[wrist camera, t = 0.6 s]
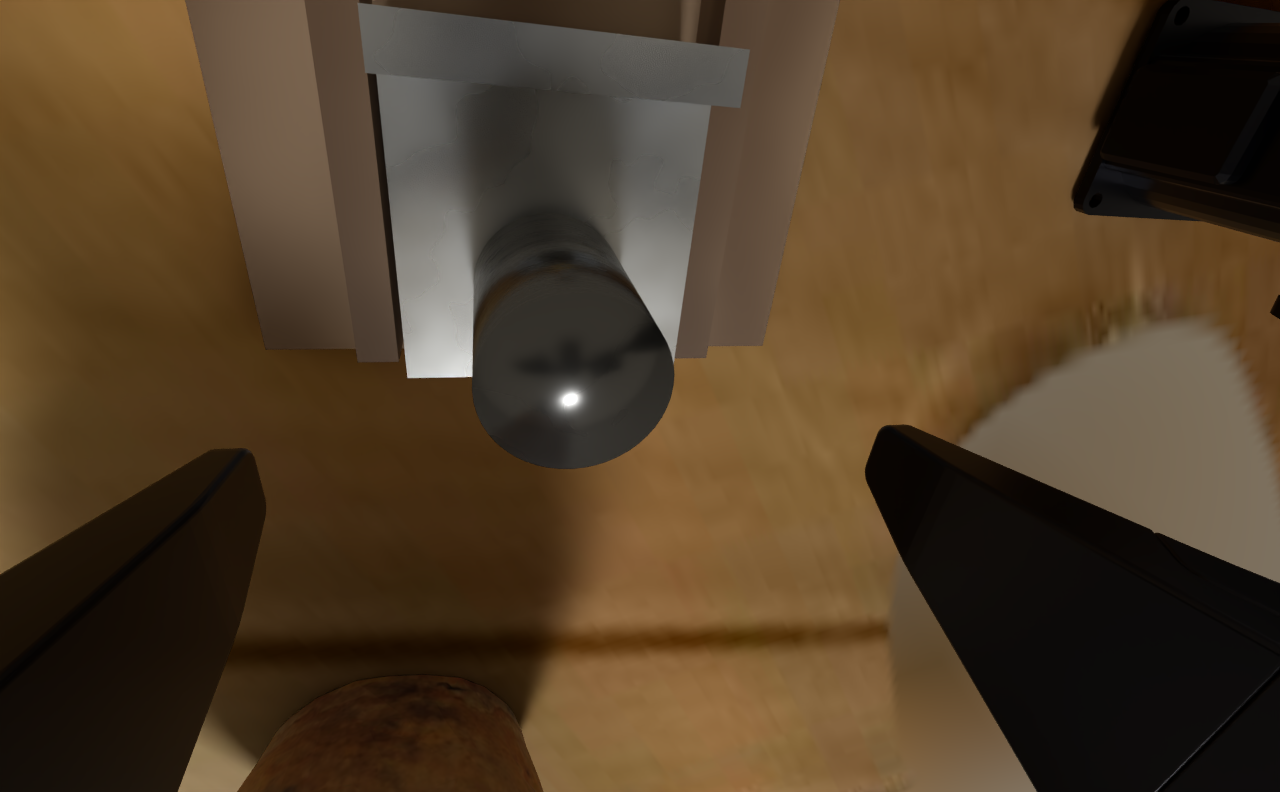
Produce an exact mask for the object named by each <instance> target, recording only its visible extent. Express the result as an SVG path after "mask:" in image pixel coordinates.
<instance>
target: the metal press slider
mask: <svg viewBox="0 0 1280 792" xmlns="http://www.w3.org/2000/svg"><path fill="white" fill-rule="evenodd" d="M358 12H359V21H360V30H361V39H362V48H363V57H364V66H365V73H372V74H376V76H377V86H378V96H379V106H380V115H381V125H382V135H383V144H384V154H385V164H386V174H387V183H388V193H389V203H390V212H391V222H392V232H393V242H394V251H395V261H396V271H397V280H398V290H399V300H400V310H401V319H402V329H403V339H404V349H405V358H406V368H407V378H442V377H472V393H473V402H474V406H475V409H476V413H477V415H478V417H479V419H480V422H481V424H482V425H483V427H484V428H485V430H486V431H487V433H488V434H489V435H490V436H491V438H492V439H493V440H494V441H495V442H496V443H497V444H498V445H500V446H501V447H502V448H503V449H504V450H506V451H507V452H509V453H510V454H512V455H513V456H515V457H517V458H519V459H521V460H524V461H526V462H529V463H532V464H535V465H539V466H543V467H548V468H557V469H575V468H584V467H589V466H593V465H597V464H601V463H604V462H607V461H609V460H612V459H614V458H616V457H618V456H620V455H622V454H624V453H625V452H627V451H629V450H630V449H632V448H633V447H635V446H636V445H637V444H639V443H640V442H641V441H642V440H643V439H644V438H645V437H646V436H648V434H649V433H650V432H651V431H652V430H653V429H654V428H655V426H656V425H657V424H658V422H659V421H660V419H661V418H662V416H663V414H664V412H665V410H666V408H667V406H668V403H669V401H670V398H671V394H672V390H673V384H674V358H675V351H676V344H677V337H678V330H679V323H680V316H681V310H682V303H683V296H684V289H685V282H686V275H687V268H688V262H689V255H690V248H691V241H692V234H693V227H694V220H695V213H696V207H697V200H698V193H699V186H700V179H701V172H702V165H703V158H704V152H705V145H706V138H707V131H708V124H709V117H710V110H711V105H712V106H723V107H734V108H740V106H741V101H742V95H743V89H744V83H745V77H746V71H747V65H748V59H749V53H750V50H749V49H741V48H732V47H724V46H715V45H707V44H699V43H690V42H682V41H674V40H665V39H657V38H649V37H640V36H632V35H623V34H615V33H607V32H598V31H590V30H582V29H573V28H565V27H556V26H548V25H540V24H531V23H523V22H515V21H506V20H498V19H489V18H481V17H473V16H464V15H456V14H448V13H439V12H431V11H423V10H414V9H406V8H397V7H389V6H381V5H372V4H364V3H358Z"/></svg>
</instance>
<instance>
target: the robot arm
mask: <svg viewBox="0 0 1280 792" xmlns="http://www.w3.org/2000/svg"><path fill="white" fill-rule="evenodd" d="M1176 13H1177V15H1176ZM1175 15H1176V18H1175ZM1174 18H1175V19H1174ZM1092 196H1093V197H1092ZM1091 198H1092V199H1091ZM1090 199H1091V200H1090ZM1074 208H1075V210H1076V211H1079V212H1082V213H1085V214H1088V215H1100V216H1118V217H1136V218H1153V219H1171V220H1188V221H1204V222H1207V223H1211V224H1215V225H1218V226H1222V227H1226V228H1229V229H1233V230H1236V231H1240V232H1244V233H1247V234H1251V235H1255V236H1258V237H1262V238H1266V239H1269V240H1273V241H1276V242H1280V12H1277V11H1271V10H1265V9H1260V8H1254V7H1248V6H1243V5H1237V4H1231V3H1226V2H1220V1H1214V0H1168V1H1167V2H1166V3H1165V4H1164V5H1163V6H1162V7H1161V8H1160V10H1159V12H1158V14H1157V16H1156V18H1155V20H1154V22H1153V24H1152V27H1151V29H1150V31H1149V33H1148V36H1147V38H1146V40H1145V42H1144V45H1143V47H1142V49H1141V51H1140V53H1139V56H1138V58H1137V60H1136V62H1135V65H1134V67H1133V69H1132V71H1131V74H1130V76H1129V78H1128V80H1127V82H1126V85H1125V87H1124V89H1123V91H1122V94H1121V96H1120V98H1119V100H1118V102H1117V105H1116V107H1115V109H1114V111H1113V114H1112V116H1111V118H1110V120H1109V123H1108V125H1107V127H1106V129H1105V131H1104V134H1103V136H1102V138H1101V140H1100V143H1099V145H1098V147H1097V149H1096V152H1095V154H1094V156H1093V158H1092V160H1091V163H1090V165H1089V167H1088V169H1087V172H1086V174H1085V176H1084V178H1083V180H1082V183H1081V185H1080V187H1079V189H1078V192H1077V194H1076V196H1075V199H1074ZM1270 313H1271V314H1272V315H1274V316H1276V317H1277V318H1279V319H1280V295H1278V297H1277V299H1276V301H1275V303H1274V305H1273V307H1272V309H1271V311H1270ZM865 477H866V481H867V484H868V486H869V488H870V490H871V493H872V495H873V497H874V499H875V501H876V503H877V506H878V508H879V510H880V512H881V514H882V517H883V519H884V521H885V523H886V525H887V528H888V530H889V532H890V534H891V536H892V539H893V541H894V543H895V545H896V547H897V549H898V551H899V554H900V556H901V558H902V560H903V562H904V564H905V565H906V567H907V569H908V571H909V572H910V574H911V576H912V578H913V579H914V581H915V583H916V585H917V586H918V588H919V590H920V592H921V593H922V595H923V597H924V598H925V600H926V602H927V604H928V605H929V607H930V609H931V611H932V612H933V614H934V616H935V617H936V619H937V621H938V622H939V624H940V626H941V628H942V629H943V631H944V633H945V635H946V636H947V638H948V640H949V641H950V643H951V645H952V647H953V648H954V650H955V652H956V653H957V655H958V657H959V659H960V660H961V662H962V664H963V665H964V667H965V669H966V671H967V672H968V674H969V676H970V678H971V679H972V681H973V683H974V684H975V686H976V688H977V690H978V691H979V693H980V695H981V696H982V698H983V700H984V702H985V703H986V705H987V707H988V708H989V710H990V712H991V714H992V715H993V717H994V719H995V721H996V722H997V724H998V726H999V727H1000V729H1001V731H1002V732H1003V734H1004V736H1005V738H1006V739H1007V741H1008V743H1009V745H1010V746H1011V748H1012V750H1013V752H1014V753H1015V755H1016V757H1017V758H1018V760H1019V762H1020V763H1021V765H1022V767H1023V769H1024V770H1025V772H1026V774H1027V775H1028V777H1029V779H1030V781H1031V782H1032V784H1033V786H1034V788H1035V789H1036V791H1037V792H1280V583H1278V582H1276V581H1273V580H1271V579H1268V578H1266V577H1263V576H1261V575H1258V574H1256V573H1253V572H1251V571H1248V570H1246V569H1243V568H1240V567H1238V566H1235V565H1233V564H1231V563H1229V562H1226V561H1224V560H1221V559H1219V558H1217V557H1214V556H1212V555H1210V554H1207V553H1205V552H1202V551H1200V550H1198V549H1195V548H1193V547H1190V546H1188V545H1186V544H1183V543H1181V542H1179V541H1177V540H1174V539H1172V538H1170V537H1167V536H1165V535H1163V534H1160V533H1154V532H1153V531H1152V530H1150V529H1148V528H1146V527H1144V526H1142V525H1139V524H1137V523H1134V522H1132V521H1130V520H1128V519H1125V518H1123V517H1121V516H1118V515H1116V514H1114V513H1112V512H1109V511H1107V510H1104V509H1102V508H1100V507H1098V506H1095V505H1093V504H1091V503H1088V502H1086V501H1084V500H1081V499H1079V498H1077V497H1074V496H1072V495H1070V494H1068V493H1065V492H1063V491H1061V490H1058V489H1056V488H1053V487H1051V486H1049V485H1047V484H1044V483H1042V482H1040V481H1037V480H1035V479H1033V478H1031V477H1028V476H1026V475H1024V474H1021V473H1019V472H1017V471H1014V470H1012V469H1010V468H1007V467H1005V466H1003V465H1000V464H998V463H996V462H993V461H991V460H989V459H987V458H984V457H982V456H980V455H977V454H975V453H972V452H970V451H968V450H966V449H963V448H961V447H959V446H956V445H954V444H952V443H949V442H947V441H945V440H943V439H940V438H938V437H936V436H933V435H931V434H929V433H926V432H924V431H922V430H919V429H917V428H915V427H912V426H910V425H886V426H884V427H882V428H881V429H880V430H879V431H878V434H877V436H876V439H875V442H874V444H873V447H872V450H871V453H870V455H869V458H868V461H867V464H866V467H865ZM265 515H266V500H265V496H264V492H263V488H262V484H261V481H260V477H259V473H258V469H257V465H256V462H255V458H254V456H253V454H252V453H251V451H249V450H248V449H245V448H236V449H214V450H210V451H208V452H206V453H204V454H203V455H201V456H199V457H198V458H196V459H194V460H193V461H191V462H189V463H188V464H186V465H184V466H183V467H181V468H179V469H177V470H176V471H174V472H172V473H171V474H169V475H167V476H166V477H164V478H162V479H161V480H159V481H157V482H156V483H154V484H152V485H150V486H149V487H147V488H145V489H144V490H142V491H140V492H139V493H137V494H135V495H134V496H132V497H130V498H128V499H127V500H125V501H123V502H122V503H120V504H118V505H117V506H115V507H113V508H112V509H110V510H108V511H107V512H105V513H103V514H101V515H100V516H98V517H96V518H95V519H93V520H91V521H90V522H88V523H86V524H85V525H83V526H81V527H79V528H78V529H76V530H74V531H73V532H71V533H69V534H68V535H66V536H64V537H63V538H61V539H59V540H57V541H56V542H54V543H52V544H51V545H49V546H47V547H46V548H44V549H42V550H41V551H39V552H37V553H35V554H34V555H32V556H30V557H29V558H27V559H25V560H24V561H22V562H20V563H19V564H17V565H15V566H13V567H12V568H10V569H8V570H7V571H5V572H3V573H2V574H0V792H178V789H179V787H180V784H181V781H182V779H183V776H184V773H185V771H186V768H187V765H188V763H189V760H190V757H191V755H192V752H193V749H194V747H195V744H196V741H197V739H198V736H199V733H200V731H201V728H202V725H203V723H204V720H205V717H206V714H207V712H208V709H209V706H210V704H211V701H212V698H213V696H214V693H215V690H216V688H217V685H218V682H219V680H220V677H221V674H222V672H223V669H224V666H225V664H226V661H227V658H228V656H229V653H230V650H231V648H232V645H233V642H234V639H235V636H236V633H237V630H238V627H239V624H240V621H241V617H242V613H243V609H244V605H245V601H246V597H247V593H248V588H249V584H250V580H251V576H252V571H253V567H254V563H255V559H256V554H257V550H258V546H259V542H260V537H261V533H262V529H263V525H264V521H265Z"/></svg>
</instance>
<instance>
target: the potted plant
mask: <svg viewBox="0 0 1280 792" xmlns="http://www.w3.org/2000/svg"><path fill="white" fill-rule="evenodd" d="M237 792H543V789H542V786H541V783H540V780H539V777H538V775H537V772H536V770H535V767H534V765H533V762H532V760H531V757H530V755H529V752H528V750H527V747H526V744H525V741H524V738H523V734H522V731H521V729H520V726H519V724H518V722H517V720H516V717H515V715H514V713H513V712H512V710H511V709H510V708H509V706H508V705H507V704H506V703H505V702H503V701H502V700H501V699H499V698H498V697H497V696H496V695H494V694H493V693H492V692H490V691H489V690H488V689H487V688H485V687H483V686H480V685H478V684H475V683H473V682H470V681H468V680H465V679H462V678H455V677H444V676H434V675H406V676H387V677H379V678H372V679H366V680H359V681H354V682H352V683H350V684H347V685H345V686H343V687H341V688H338V689H336V690H334V691H332V692H329V693H327V694H325V695H323V696H321V697H318V698H316V699H315V700H313V701H312V702H311V703H309V704H308V705H307V706H305V707H304V708H303V709H301V710H300V711H298V712H297V713H296V714H294V715H293V716H292V717H290V718H289V719H287V721H286V722H285V723H284V724H283V725H282V726H281V727H280V728H279V730H278V731H277V732H276V733H275V735H274V737H273V738H272V740H271V741H270V743H269V745H268V746H267V748H266V750H265V751H264V753H263V755H262V756H261V758H260V759H259V761H258V763H257V764H256V766H255V767H254V769H253V770H252V771H251V773H250V774H249V776H248V777H247V778H246V780H245V781H244V783H243V784H242V785H241V787H240V788H239V790H238V791H237Z"/></svg>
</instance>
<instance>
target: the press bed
mask: <svg viewBox="0 0 1280 792" xmlns="http://www.w3.org/2000/svg"><path fill="white" fill-rule="evenodd" d="M185 2H186V6H187V10H188V15H189V19H190V23H191V28H192V32H193V36H194V41H195V45H196V49H197V54H198V58H199V62H200V67H201V71H202V75H203V80H204V84H205V88H206V93H207V97H208V102H209V106H210V110H211V115H212V119H213V123H214V128H215V132H216V136H217V141H218V145H219V149H220V154H221V158H222V162H223V167H224V171H225V175H226V180H227V184H228V188H229V193H230V197H231V201H232V206H233V210H234V214H235V219H236V223H237V227H238V232H239V236H240V240H241V245H242V249H243V254H244V258H245V262H246V267H247V271H248V275H249V280H250V284H251V288H252V293H253V297H254V301H255V306H256V310H257V314H258V319H259V323H260V327H261V332H262V336H263V340H264V345H265V349H266V350H269V349H356V354H357V361H358V362H399V358H400V354H401V350H402V348H404V339H403V329H402V319H401V310H400V300H399V290H398V280H397V271H396V261H395V251H394V242H393V232H392V222H391V212H390V203H389V193H388V183H387V174H386V164H385V154H384V144H383V135H382V125H381V115H380V106H379V96H378V86H377V76H376V74H372V73H365V66H364V57H363V48H362V39H361V30H360V21H359V12H358V3H364V4H372V5H381V6H389V7H397V8H406V9H414V10H423V11H431V12H439V13H448V14H456V15H464V16H473V17H481V18H489V19H498V20H506V21H515V22H523V23H531V24H540V25H548V26H556V27H565V28H573V29H582V30H590V31H598V32H607V33H615V34H623V35H632V36H640V37H649V38H657V39H665V40H674V41H682V42H690V43H699V44H707V45H715V46H724V47H732V48H741V49H749V50H750V53H749V59H748V65H747V71H746V77H745V83H744V89H743V95H742V101H741V106H740V108H734V107H723V106H712V105H711V110H710V117H709V124H708V131H707V138H706V145H705V152H704V158H703V165H702V172H701V179H700V186H699V193H698V200H697V207H696V213H695V220H694V227H693V234H692V241H691V248H690V255H689V262H688V268H687V275H686V282H685V289H684V296H683V303H682V310H681V316H680V323H679V330H678V337H677V344H676V351H675V358H706V355H707V349H708V346H763V341H764V337H765V332H766V328H767V323H768V319H769V314H770V310H771V305H772V301H773V296H774V292H775V288H776V283H777V279H778V274H779V270H780V265H781V261H782V256H783V252H784V247H785V243H786V238H787V234H788V230H789V225H790V221H791V216H792V212H793V207H794V203H795V198H796V194H797V189H798V185H799V181H800V176H801V172H802V167H803V163H804V158H805V154H806V149H807V145H808V140H809V136H810V131H811V127H812V123H813V118H814V114H815V109H816V105H817V100H818V96H819V91H820V87H821V82H822V78H823V73H824V69H825V65H826V60H827V56H828V51H829V47H830V42H831V38H832V33H833V29H834V24H835V20H836V15H837V11H838V7H839V2H840V0H185Z"/></svg>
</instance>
